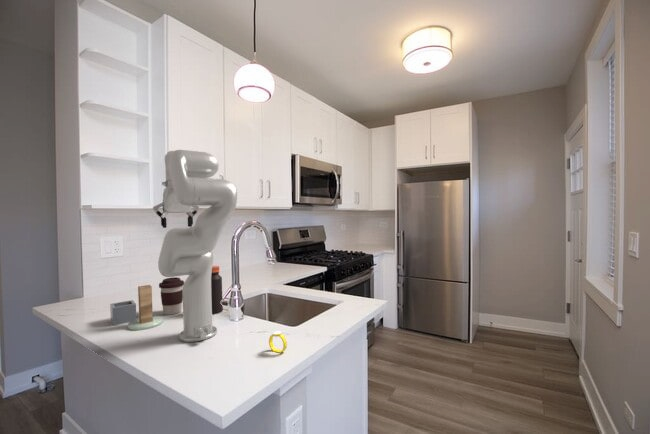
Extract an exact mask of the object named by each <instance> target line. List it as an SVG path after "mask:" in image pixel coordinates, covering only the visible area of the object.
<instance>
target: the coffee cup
mask: <svg viewBox="0 0 650 434" xmlns="http://www.w3.org/2000/svg"><path fill="white" fill-rule="evenodd" d="M184 282H185V281H184V280H183V279H181V278H180V277H179V276H175V277H165V278H163V280H162V282H159V283H158V287H159V288H160V299H161V300H160V301H161V305H162V313H163V314H164V315H167V316H171V315H176V314H179V313H181V312H182V311H183V294H182V293H183V292H182V289H183V285H184Z"/></svg>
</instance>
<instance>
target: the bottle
mask: <svg viewBox="0 0 650 434" xmlns="http://www.w3.org/2000/svg"><path fill="white" fill-rule="evenodd" d="M219 273H220V266H219V265H212V273H211V298H212V315H216V314H221V313H222V312H223V308H224V307H223V306H222V305H221V304H220V301H221V300H223V278H222V276H221V275H220V274H219Z"/></svg>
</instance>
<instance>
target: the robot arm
mask: <svg viewBox="0 0 650 434" xmlns="http://www.w3.org/2000/svg"><path fill="white" fill-rule="evenodd" d="M164 166H165V181H161V186H164V187H165V188H164V189H163V194H162V202H161V203H159V204H157V205H155V206H152V210H154V213H155V214H156V215H157V216H158V217H159V218H160V225H161V226H162V228H163V229H166V228H167V217H166V216H167V215H168V214H180V213H181V214H183V213H184V214H186V215H187V216H188V217H187V226H186V227H175V228H174V227H173V228H172V229H169V230H168V231H167V232H166V233H165V234H164V238H163V241H162V245H161V247H160V248H161V249H160V253H159V255H158V260H157V261H158V263H157V264H158V265H157V266H158V271H159V273H160V275H162V277H165V278H174V277H181V276H187V278H186V279H185V281H184V285H183V288H182V292H183V293H182V294H183V300H182V316H183V317H182V319H183V330H182V331H181V332H179V334H178V339H179V340H180V341H183V342H187V343H188V342H189V343H191V342H192V343H193V342H200V341H204V340H207V339H211V338H212V337H214V336H215V335H217V333H218V328H217V327H216V326H215V325H213V314H212V298H211V273H212V266H214V265H213V264H214V254H213V251H214V249H215V248H216V246H217V244H218V241H219V239H220V236H221V234H222V231H223V229H224V228H225V226H226V224H227V223H228V222H229V220H230V219H231V217H232V216H233V215H234V212H235V211H236V206H237V203H238V202H237V201H238V191H237V188H236V186H235V184H233V182H231V181H229V180H226V179H223V178H214V177H213V176H215V175H216V173H218V170H219V162H218V160H217V158H216V157H215V156H214V155H213V154H211V153H208V152H204V151H194V150H187V149H176V150H169V151H167V152H166V154H165V155H164ZM211 177H213V178H211ZM201 206H202V207H205V206H206V207H208V206H209V207H208V208H206V209H205V210H203V211H202V212H201V213H200V214H199V215H198V216H197V217H196V219H195V222H194V216H196V214H197V213H198V211H199V209H200V207H201ZM160 208H162V212H161V211H160ZM192 209H193V211H192ZM194 223H195V224H194ZM193 224H194V225H193Z"/></svg>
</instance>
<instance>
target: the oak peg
mask: <svg viewBox="0 0 650 434" xmlns="http://www.w3.org/2000/svg"><path fill="white" fill-rule="evenodd" d="M137 293H138V295H137V297H138V319H139V322H140V323H141V324H144V323H149V322H153V313H154V311H153V286H152V285H151V284H144V285H140V286H138V287H137Z"/></svg>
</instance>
